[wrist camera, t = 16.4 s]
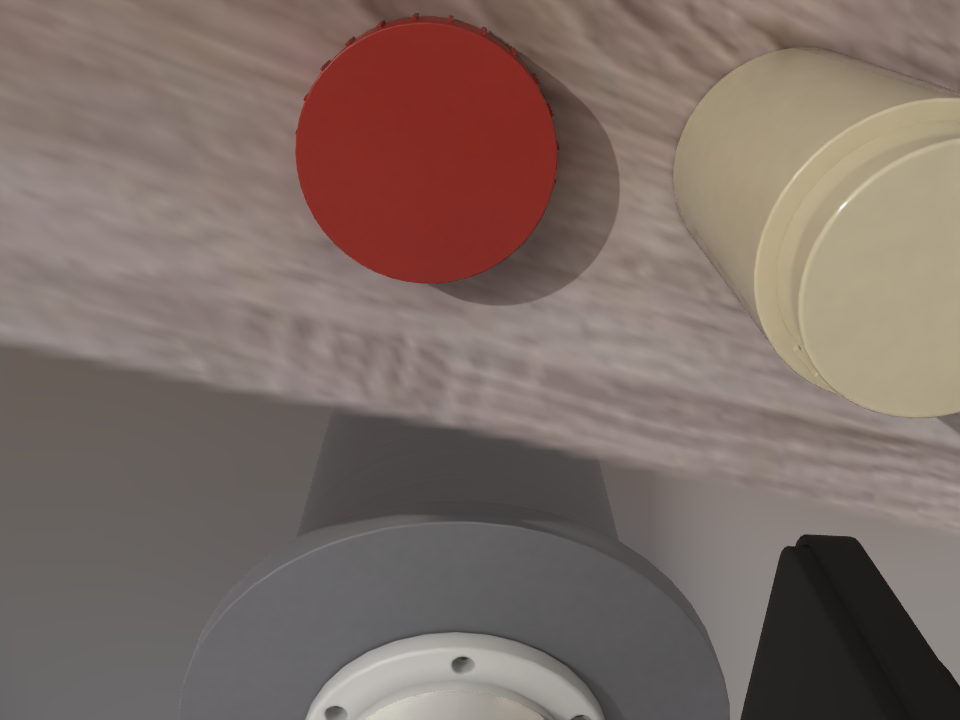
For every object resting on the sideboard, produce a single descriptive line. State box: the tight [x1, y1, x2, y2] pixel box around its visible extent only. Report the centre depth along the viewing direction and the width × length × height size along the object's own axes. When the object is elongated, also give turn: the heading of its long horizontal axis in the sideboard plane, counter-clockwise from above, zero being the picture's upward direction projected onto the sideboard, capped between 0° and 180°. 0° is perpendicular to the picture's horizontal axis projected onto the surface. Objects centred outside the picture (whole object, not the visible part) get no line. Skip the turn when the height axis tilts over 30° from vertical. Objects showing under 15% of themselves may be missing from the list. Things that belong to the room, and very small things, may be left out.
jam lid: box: [296, 13, 559, 283], centre depth 24 cm, size 7×7×2 cm
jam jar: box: [673, 47, 960, 418], centre depth 21 cm, size 6×6×10 cm
